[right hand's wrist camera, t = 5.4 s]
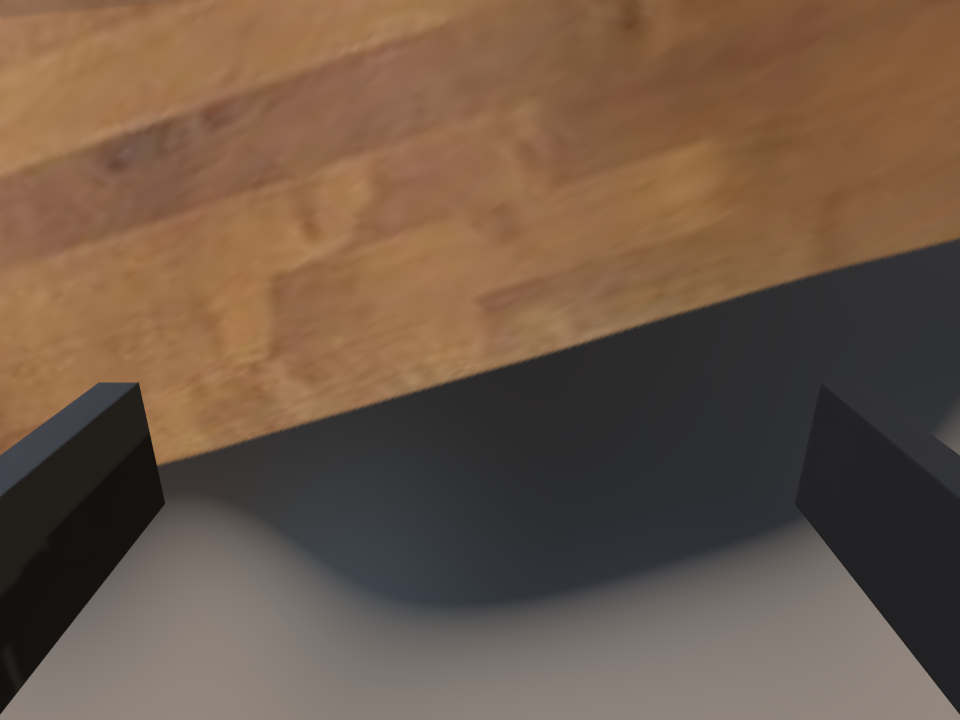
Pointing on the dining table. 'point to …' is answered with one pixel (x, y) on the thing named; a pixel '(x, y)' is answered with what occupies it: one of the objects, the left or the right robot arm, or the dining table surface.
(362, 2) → the dining table surface
